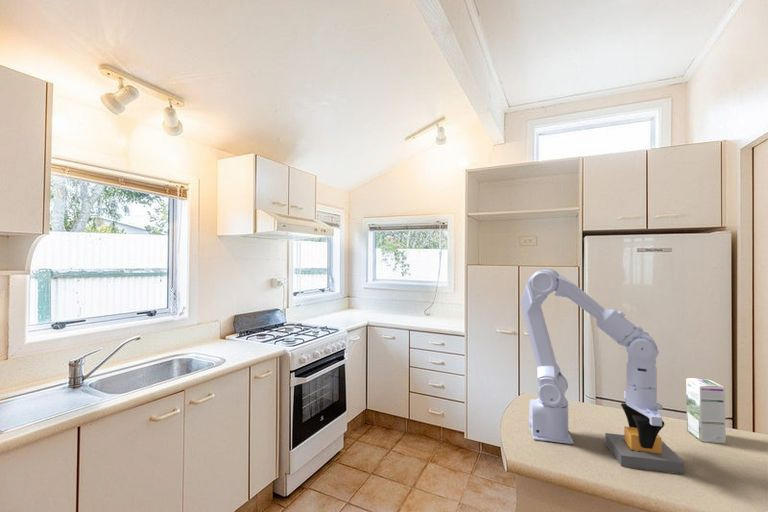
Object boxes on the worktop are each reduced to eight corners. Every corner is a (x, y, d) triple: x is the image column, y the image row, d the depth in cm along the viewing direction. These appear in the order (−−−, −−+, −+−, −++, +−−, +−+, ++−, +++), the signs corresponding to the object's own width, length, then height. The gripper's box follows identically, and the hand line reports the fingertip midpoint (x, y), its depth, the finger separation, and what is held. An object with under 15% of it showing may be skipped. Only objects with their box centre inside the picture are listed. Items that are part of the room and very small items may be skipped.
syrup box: (727, 444, 87) (727, 386, 87) (699, 441, 89) (699, 385, 88) (710, 432, 93) (710, 378, 93) (685, 430, 94) (685, 377, 94)
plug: (631, 458, 81) (631, 434, 81) (624, 448, 85) (624, 426, 85) (661, 462, 80) (661, 438, 79) (653, 452, 83) (653, 429, 83)
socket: (621, 466, 79) (621, 452, 79) (605, 442, 89) (605, 430, 89) (683, 474, 76) (683, 460, 76) (660, 448, 86) (660, 436, 86)
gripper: (678, 398, 74) (678, 462, 74) (646, 375, 88) (646, 428, 88) (640, 395, 76) (640, 457, 76) (614, 373, 90) (614, 425, 90)
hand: (641, 441), depth 82 cm, fingers open, 4 cm apart
